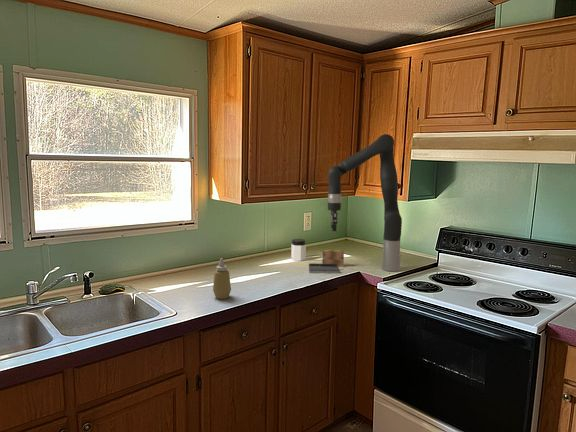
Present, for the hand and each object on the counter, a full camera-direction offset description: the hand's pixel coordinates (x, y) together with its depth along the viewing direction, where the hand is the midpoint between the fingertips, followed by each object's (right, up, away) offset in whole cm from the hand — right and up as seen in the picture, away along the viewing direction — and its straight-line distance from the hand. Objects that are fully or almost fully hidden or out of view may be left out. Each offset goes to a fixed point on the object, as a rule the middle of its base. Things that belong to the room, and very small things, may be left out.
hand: (333, 229), depth 244 cm
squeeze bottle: (-56, -29, -51) cm, 81 cm away
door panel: (0, -21, +3) cm, 21 cm away
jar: (-20, -19, +18) cm, 33 cm away
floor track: (-6, -23, -7) cm, 25 cm away
